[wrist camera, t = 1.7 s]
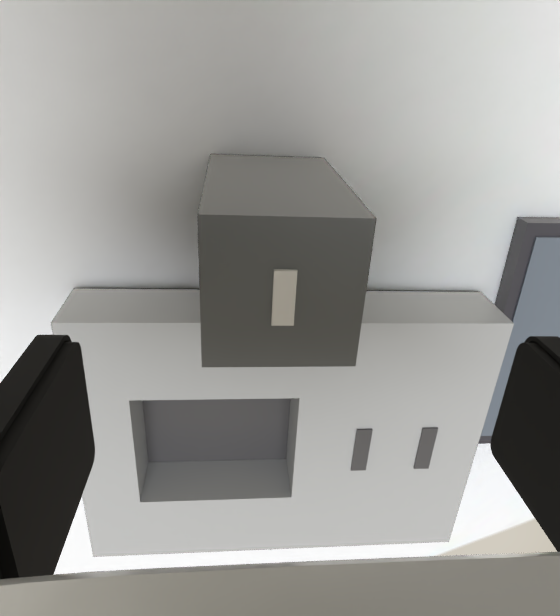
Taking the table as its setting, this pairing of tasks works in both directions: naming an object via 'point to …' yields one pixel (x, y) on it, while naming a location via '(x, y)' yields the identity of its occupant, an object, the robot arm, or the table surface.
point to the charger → (281, 263)
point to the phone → (527, 296)
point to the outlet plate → (280, 426)
